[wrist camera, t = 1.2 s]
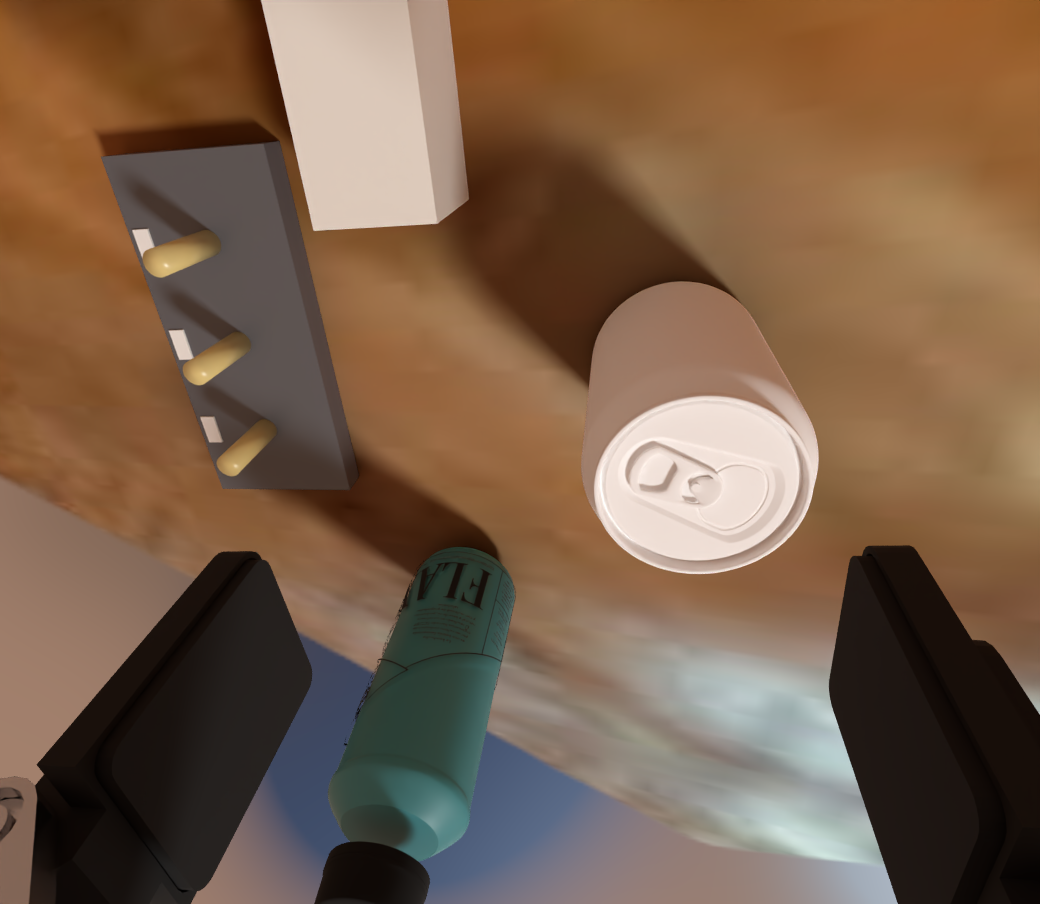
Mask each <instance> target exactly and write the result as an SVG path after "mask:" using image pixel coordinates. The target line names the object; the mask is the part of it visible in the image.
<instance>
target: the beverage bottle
mask: <svg viewBox="0 0 1040 904" xmlns="http://www.w3.org/2000/svg"><path fill="white" fill-rule="evenodd" d="M421 564H422V563H421ZM421 564H420V565H421ZM420 565H419V566H420ZM416 570H417V569H416ZM417 571H418V570H417ZM415 574H416V573H415ZM415 574H414V575H415ZM410 584H411V589H410V588H409V587H408V589H407V592H406V595H405V598H404V600H403V601H404V602H403V606H402V605H401V607H402V609H399V612H401V614H399V615H400V616H399V619H398V618H397V619H398V621H397V623H395V624H396V626H395V628H393V629H394V631H393V633H392V636H391V638H390V640H389V643H388V642H387V643H388V644H387V648H386V647H385V648H386V649H385V653H384V652H382V655H383V653H384V655H383V656H382V659H378V660H381V662H380V664H379V665H378V666H379V667H378V666H377V668H378V670H377V672H376V671H375V672H376V674H375V677H374V679H373V681H372V684H371V687H369V688H368V690H369V691H367V690H366V691H365V694H366V692H367V696H365V698H364V699H365V701H364V704H363V705H362V708H360V710H361V711H360V710H359V708H358V709H357V711H358V710H359V711H358V712H357V713H359V712H360V713H359V716H358V717H357V720H356V723H355V725H354V728H353V730H352V733H351V735H350V738H349V741H348V744H345V743H344V745H347V746H346V749H345V752H344V754H343V757H342V759H341V762H340V764H339V767H338V769H337V771H336V772H335V774H334V775H333V777H332V779H331V782H330V784H329V789H328V799H329V803H330V807H331V809H332V812H333V814H334V816H335V818H336V820H337V822H338V825H339V827H340V828H341V830H342V832H343V833H344V835H345V836H346V837H347V839H348V840H349V841H350V842H347V843H344V844H341V845H339V846H336V847H335V848H334V849H333V850H332V851H331V852H330V854H329V856H328V859H327V861H326V864H325V867H324V870H323V877H322V881H321V884H320V887H319V890H318V894H317V897H316V900H315V903H314V904H424V902H425V899H426V896H427V892H428V888H429V884H430V878H429V875H428V873H427V871H426V870H425V868H424V867H423V866H422V865H421V864H420V863H419V862H418V861H422V860H424V859H427V858H429V857H431V856H433V855H435V854H437V853H439V852H441V851H442V850H444V849H446V848H448V847H449V846H451V845H452V844H454V843H455V842H456V841H458V840H459V839H460V838H461V837H462V836H463V835H464V833H465V831H466V829H467V827H468V824H469V820H470V806H471V801H472V797H473V792H474V786H475V782H476V777H477V772H478V767H479V763H480V757H481V753H482V748H483V743H484V737H485V733H486V728H487V723H488V718H489V713H490V708H491V704H492V699H493V694H494V690H495V688H496V687H495V684H496V679H497V676H499V674H498V673H499V671H500V669H499V668H500V666H501V662H502V657H503V653H504V648H505V643H506V639H507V634H508V630H509V628H508V627H509V625H510V620H511V619H510V618H511V616H512V611H513V607H514V605H513V604H514V602H515V600H514V598H515V597H516V595H514V589H515V588H514V587H513V586H514V585H513V582H512V579H511V577H510V575H509V573H508V571H507V570H506V569H505V567H504V566H503V565H502V564H501V563H500V562H499V561H497V560H496V559H495V558H493V557H492V556H490V555H488V554H487V553H485V552H482V551H480V550H477V549H473V548H467V547H453V548H447V549H443V550H441V551H438V552H436V553H434V554H433V555H432V556H430V557H429V558H428V559H427V560H425V562H424V563H423V565H422V566H421V567H420V569H419V571H418V573H417V575H416V577H415V579H414V581H413V583H410ZM412 584H413V585H412ZM409 586H410V585H409ZM409 589H410V590H409ZM408 591H409V594H408ZM515 593H516V591H515ZM407 596H408V597H407ZM401 607H400V608H401ZM400 610H401V611H400ZM399 612H398V613H399ZM397 616H398V615H397ZM397 616H396V617H397ZM395 619H396V618H395ZM392 626H394V625H392ZM393 629H392V630H393ZM390 631H391V630H390ZM391 632H392V631H391ZM391 632H390V633H391ZM390 633H389V634H390ZM388 637H389V635H388ZM388 637H387V638H388ZM387 640H388V639H387ZM387 640H386V641H387ZM385 644H386V643H385ZM383 650H384V649H383ZM378 663H379V662H378ZM497 680H498V679H497ZM496 685H497V684H496ZM362 698H363V697H362ZM361 701H362V702H363V700H361ZM362 702H361V703H362ZM361 703H360V704H361ZM356 715H358V714H356ZM355 717H356V716H355Z"/></svg>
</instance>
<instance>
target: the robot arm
mask: <svg viewBox="0 0 1040 904" xmlns="http://www.w3.org/2000/svg"><path fill="white" fill-rule="evenodd" d="M311 681H312V669H311V665H310V663H309V660H308V658H307V655H306V653H305V650H304V648H303V645H302V643H301V640H300V638H299V635H298V633H297V631H296V628H295V626H294V623H293V621H292V618H291V616H290V613H289V611H288V608H287V606H286V604H285V601H284V599H283V596H282V594H281V591H280V589H279V586H278V584H277V581H276V579H275V577H274V574H273V572H272V569H271V567H270V565H269V563H268V562H267V561H266V560H262V559H261V557H260V555H259V554H257V553H256V552H252V551H240V552H221V553H218V554H217V555H216V556H215V557H214V558H213V559H212V560H211V561H210V563H209V564H208V565H207V566H206V567H205V568H204V570H203V571H202V572H201V573H200V574H199V575H198V577H197V578H196V579H195V580H194V581H193V582H192V584H191V585H190V586H189V587H188V588H187V590H186V591H185V592H184V593H183V594H182V595H181V597H180V598H179V599H178V600H177V601H176V602H175V604H174V605H173V606H172V607H171V608H170V609H169V611H168V612H167V613H166V614H165V615H164V616H163V618H162V619H161V620H160V621H159V622H158V623H157V625H156V626H155V627H154V628H153V629H152V630H151V632H150V633H149V634H148V635H147V636H146V638H145V639H144V640H143V641H142V642H141V643H140V645H139V646H138V647H137V648H136V649H135V650H134V651H133V653H132V654H131V655H130V656H129V657H128V659H127V660H126V661H125V662H124V663H123V664H122V666H121V667H120V668H119V669H118V670H117V672H116V673H115V674H114V675H113V676H112V677H111V678H110V680H109V681H108V682H107V683H106V684H105V685H104V687H103V688H102V689H101V690H100V691H99V693H98V694H97V695H96V696H95V697H94V698H93V699H92V701H91V702H90V703H89V704H88V706H87V707H86V708H85V709H84V710H83V711H82V712H81V713H80V715H79V716H78V717H77V718H76V719H75V720H74V722H73V723H72V724H71V725H70V726H69V728H68V729H67V730H66V731H65V732H64V733H63V735H62V736H61V737H60V738H59V739H58V740H57V742H56V743H55V744H54V745H53V746H52V747H51V749H50V750H49V751H48V752H47V753H46V754H45V756H44V757H43V758H42V759H41V760H40V761H39V763H38V764H37V766H38V767H39V768H40V770H41V771H42V772H43V773H44V775H43V777H42V778H41V779H40V780H39V781H38V783H37V784H36V785H34V784H33V783H31V781H29V780H28V779H27V778H21V777H15V776H14V777H8V778H1V779H0V904H191V902H192V900H193V898H194V896H195V894H196V892H197V891H200V890H201V889H203V888H204V887H205V886H206V885H207V884H208V883H209V881H210V880H211V878H212V877H213V874H214V873H215V871H216V869H217V867H218V865H219V863H220V861H221V859H222V857H223V855H224V853H225V851H226V849H227V847H228V845H229V844H230V842H231V840H232V838H233V836H234V834H235V832H236V830H237V828H238V826H239V824H240V822H241V820H242V818H243V816H244V814H245V812H246V810H247V809H248V806H249V805H250V803H251V801H252V799H253V797H254V795H255V793H256V791H257V789H258V787H259V785H260V783H261V781H262V779H263V777H264V775H265V773H266V771H267V770H268V768H269V766H270V764H271V762H272V760H273V758H274V756H275V754H276V752H277V750H278V748H279V746H280V744H281V742H282V740H283V739H284V737H285V735H286V733H287V731H288V729H289V727H290V725H291V723H292V721H293V719H294V717H295V715H296V713H297V711H298V709H299V707H300V705H301V704H302V702H303V700H304V698H305V696H306V694H307V692H308V690H309V688H310V685H311ZM829 693H830V700H831V704H832V708H833V711H834V714H835V717H836V720H837V723H838V726H839V729H840V732H841V735H842V738H843V741H844V744H845V747H846V750H847V753H848V756H849V759H850V762H851V765H852V768H853V771H854V774H855V777H856V780H857V783H858V786H859V789H860V792H861V795H862V798H863V801H864V804H865V807H866V810H867V813H868V816H869V819H870V822H871V825H872V828H873V831H874V834H875V837H876V840H877V843H878V846H879V849H880V852H881V855H882V858H883V861H884V864H885V867H886V870H887V873H888V875H889V879H890V881H891V885H892V888H893V891H894V894H895V896H896V900H897V902H898V904H1040V715H1039V713H1038V711H1037V710H1036V708H1035V707H1034V705H1033V704H1032V702H1031V701H1030V699H1029V698H1028V696H1027V695H1026V693H1025V692H1024V690H1023V689H1022V687H1021V686H1020V684H1019V683H1018V681H1017V679H1016V678H1015V676H1014V675H1013V673H1012V672H1011V670H1010V669H1009V667H1008V666H1007V664H1006V663H1005V661H1004V660H1003V658H1002V657H1001V655H1000V654H999V653H998V652H997V650H996V649H995V648H994V647H993V646H992V645H991V644H989V643H987V642H986V641H982V640H972V639H971V637H970V636H969V634H968V633H967V631H966V629H965V628H964V626H963V625H962V623H961V621H960V620H959V618H958V617H957V615H956V613H955V612H954V610H953V609H952V607H951V605H950V604H949V602H948V600H947V599H946V597H945V596H944V594H943V592H942V591H941V589H940V588H939V586H938V584H937V583H936V581H935V580H934V578H933V576H932V575H931V573H930V572H929V570H928V568H927V567H926V565H925V564H924V562H923V560H922V559H921V557H920V556H919V554H918V552H917V551H916V550H915V549H914V547H912V546H867V547H866V548H865V549H864V551H863V555H862V556H853V557H852V558H851V559H850V562H849V568H848V573H847V579H846V585H845V591H844V597H843V603H842V609H841V615H840V620H839V626H838V632H837V638H836V644H835V650H834V656H833V661H832V667H831V673H830V679H829Z"/></svg>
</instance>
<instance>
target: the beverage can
mask: <svg viewBox="0 0 1040 904" xmlns="http://www.w3.org/2000/svg"><path fill="white" fill-rule="evenodd" d="M581 470H582V479H583V485H584V489H585V492H586V495H587V498H588V500H589V502H590V504H591V506H592V508H593V510H594V512H595V513H596V515H597V516H598V518H599V519H600V520H601V522H602V524H603V526H604V527H605V529H606V530H607V532H608V533H609V534H610V536H611V537H612V538H613V539H614V540H615V541H616V542H617V543H618V544H619V545H620V546H621V547H622V548H623V549H624V550H626V551H627V552H628V553H630V554H631V555H633V556H634V557H636V558H638V559H639V560H641V561H643V562H645V563H647V564H650V565H652V566H655V567H658V568H661V569H665V570H669V571H673V572H679V573H689V574H708V573H717V572H723V571H728V570H732V569H736V568H739V567H742V566H745V565H748V564H750V563H752V562H755V561H757V560H759V559H761V558H763V557H764V556H766V555H768V554H769V553H771V552H772V551H774V550H775V549H776V548H778V547H779V546H780V545H781V544H783V543H784V542H785V541H786V540H787V539H788V538H789V537H790V536H791V535H792V534H793V532H794V531H795V530H796V529H797V527H798V526H799V524H800V523H801V521H802V520H803V518H804V516H805V514H806V512H807V510H808V507H809V504H810V501H811V498H812V493H813V487H814V484H815V480H816V476H817V470H818V445H817V439H816V435H815V431H814V428H813V426H812V423H811V421H810V419H809V417H808V415H807V413H806V411H805V410H804V408H803V406H802V404H801V403H800V401H799V399H798V397H797V395H796V394H795V392H794V390H793V388H792V387H791V385H790V383H789V381H788V380H787V378H786V376H785V374H784V373H783V371H782V369H781V367H780V365H779V364H778V362H777V360H776V358H775V357H774V355H773V353H772V351H771V350H770V348H769V346H768V344H767V343H766V341H765V339H764V337H763V335H762V334H761V332H760V330H759V328H758V327H757V325H756V323H755V321H754V320H753V318H752V317H751V315H750V314H749V312H748V311H747V310H746V309H745V307H744V306H743V305H742V304H741V303H740V302H738V301H737V300H736V299H735V298H733V297H732V296H731V295H729V294H727V293H726V292H724V291H722V290H720V289H718V288H715V287H713V286H710V285H706V284H702V283H697V282H684V281H682V282H669V283H663V284H659V285H656V286H652V287H650V288H647V289H645V290H642V291H640V292H638V293H637V294H635V295H633V296H631V297H630V298H628V299H627V300H626V301H624V302H623V303H622V304H621V305H620V306H618V307H617V308H616V309H615V310H614V312H613V313H612V314H611V315H610V316H609V317H608V319H607V320H606V322H605V323H604V325H603V326H602V328H601V330H600V332H599V334H598V336H597V339H596V342H595V345H594V349H593V355H592V363H591V373H590V382H589V392H588V402H587V411H586V421H585V431H584V440H583V450H582V462H581Z"/></svg>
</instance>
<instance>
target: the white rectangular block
mask: <svg viewBox="0 0 1040 904" xmlns="http://www.w3.org/2000/svg"><path fill="white" fill-rule="evenodd" d="M261 2H262V6H263V11H264V15H265V20H266V24H267V28H268V33H269V37H270V42H271V46H272V50H273V55H274V59H275V63H276V68H277V72H278V77H279V81H280V85H281V90H282V94H283V98H284V103H285V107H286V112H287V116H288V120H289V125H290V129H291V133H292V138H293V142H294V147H295V151H296V155H297V160H298V164H299V168H300V173H301V177H302V182H303V186H304V190H305V195H306V199H307V203H308V208H309V212H310V217H311V221H312V225H313V230H314V231H318V230H335V229H353V228H370V227H388V226H405V225H422V224H438V223H439V222H440V221H441V220H443V219H444V218H445V217H447V216H448V215H449V214H451V213H452V212H453V211H455V210H456V209H457V208H459V207H460V206H461V205H463V204H464V203H465V202H466V201H468V200H469V193H468V184H467V175H466V166H465V157H464V148H463V139H462V129H461V120H460V111H459V102H458V93H457V84H456V75H455V65H454V56H453V47H452V38H451V29H450V20H449V11H448V1H447V0H261Z"/></svg>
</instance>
